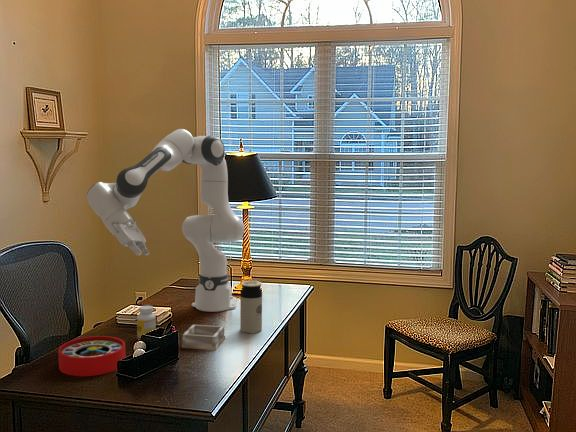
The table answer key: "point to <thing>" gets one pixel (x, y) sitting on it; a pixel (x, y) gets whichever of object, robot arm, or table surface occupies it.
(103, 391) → the table surface
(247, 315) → the travel mug
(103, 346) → the toy clock
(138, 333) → the pill bottle
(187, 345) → the grey square tray
